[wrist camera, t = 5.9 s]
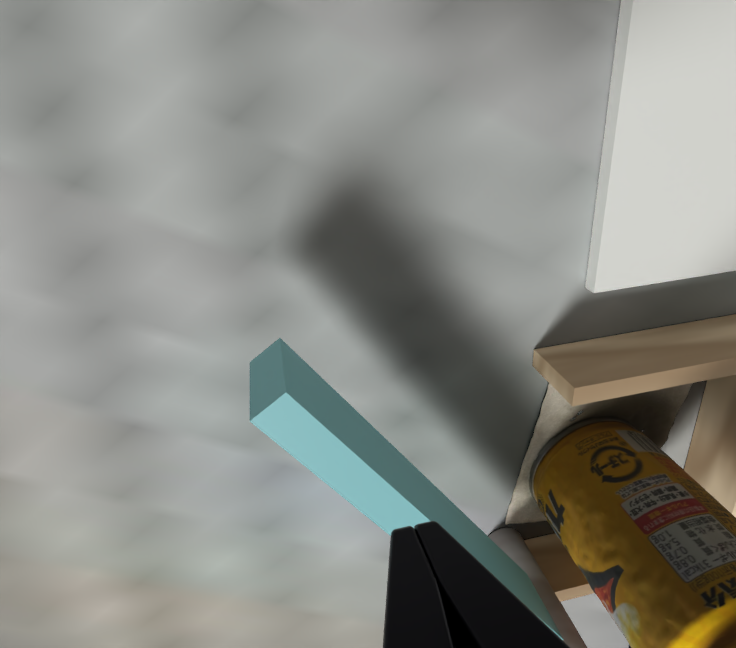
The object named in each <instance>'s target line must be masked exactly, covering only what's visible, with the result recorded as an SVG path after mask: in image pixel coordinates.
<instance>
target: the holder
mask: <svg viewBox="0 0 736 648" xmlns="http://www.w3.org/2000/svg"><path fill="white" fill-rule="evenodd" d="M533 367H534V368H535V369H536V370H537V371H538V372H539V373H540V374H541V375H542V376H543V377H544V378H545V379H546V380H547V381H548V382H549V383H550V384H551V385H552V386H553V387H554V388H555V389H556V390H557V391H558V392H559V393H560V394H561V395H562V397H563V398H564V399H565V400H566V401H567V402H568V403H569V404H570V405H571V406H577V405H582V404H587V403H592V402H597V401H602V400H607V399H613V398H618V397H623V396H628V395H633V394H638V393H643V392H648V391H654V390H659V389H664V388H669V387H674V386H679V385H684V384H690V383H695V382H700V381H705V380H707V383H706V387H705V391H704V395H703V399H702V402H701V406H700V410H699V414H698V418H697V421H696V425H695V429H694V433H693V437H692V440H691V444H690V448H689V452H688V456H687V460H686V463H685V467H684V471H685V472H686V473H688V474H689V475H690V476H691V477H692V478H693V479H694V480H695V481H696V482H697V483H699V484H700V485H701V486H702V487H703V488H704V489H705V490H706V491H707V492H708V493H709V494H711V495H712V496H713V497H714V498H715V499H716V500H717V501H718V502H719V503H720V504H721V505H723V506H724V507H725V508H726V509H727V510H728V511H729V512H730V513H731V514H732V515H733V516H735V517H736V314H734V315H728V316H722V317H717V318H711V319H705V320H699V321H694V322H688V323H682V324H677V325H671V326H665V327H659V328H654V329H648V330H642V331H636V332H631V333H625V334H619V335H613V336H608V337H602V338H596V339H591V340H585V341H579V342H573V343H568V344H562V345H556V346H550V347H545V348H539V349H534V355H533ZM488 537H489V538H490V539H491V540H492V541H493V542H494V543H495V544H496V545H497V546H498V547H499V548H500V549H501V550H503V551H504V552H505V553H506V554H507V555H508V556H509V557H510V558H511V559H512V560H513V561H514V562H515V563H516V564H517V565H518V566H519V567H520V568H521V569H522V570H523V571H525V572H526V573H527V575H528V577H529V578H530V580H531V582H532V584H533V585H534V587H535V589H536V591H537V593H538V594H539V596H540V598H541V600H542V602H543V603H544V605H545V607H546V609H547V611H548V612H549V614H550V616H551V618H552V620H553V621H554V623H555V625H556V627H557V629H558V630H559V632H560V634H561V636H562V638H563V639H564V640H563V641H564V642H565V643H566V644H567V645H568V646H569V647H570V648H587V646H586V645H585V643H584V641H583V640H582V638H581V636H580V635H579V633H578V631H577V630H576V628H575V626H574V624H573V623H572V621H571V619H570V618H569V616H568V614H567V613H566V611H565V609H564V607H563V606H562V604H561V601H565V600H569V599H573V598H577V597H581V596H585V595H588V594H592V593H594V592H593V590H592V589H591V587H590V585H589V583H588V581H587V579H586V578H585V576H584V575H583V573H582V571H581V570H580V568H579V567H578V566H577V565H576V564H575V562H574V561H573V559H572V557H571V556H570V554H569V552H568V551H567V549H566V548H565V547H564V545H563V544H562V542H561V541H560V539H559V538H558V537H557V535H556V533H553V534H549V535H545V536H541V537H536V538H532V539H528V540H523V538H522V536H521V535H520V533H519V531H518V530H516V529H514V528H510V527H506V528H501V529H498V530H496V531H494V532H493V533H491V534H490V535H489V536H488Z"/></svg>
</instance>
